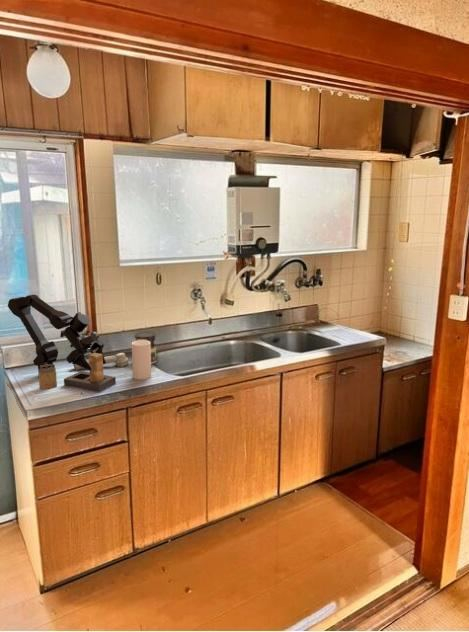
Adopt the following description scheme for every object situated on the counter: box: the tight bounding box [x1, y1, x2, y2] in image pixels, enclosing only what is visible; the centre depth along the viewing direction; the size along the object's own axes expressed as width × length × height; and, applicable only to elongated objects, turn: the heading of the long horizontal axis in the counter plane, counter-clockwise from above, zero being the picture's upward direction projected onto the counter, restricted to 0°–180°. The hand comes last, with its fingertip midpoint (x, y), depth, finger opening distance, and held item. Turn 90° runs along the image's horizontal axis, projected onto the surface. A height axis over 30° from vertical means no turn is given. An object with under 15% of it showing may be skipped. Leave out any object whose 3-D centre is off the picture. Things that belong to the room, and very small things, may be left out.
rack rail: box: [63, 370, 117, 393], centre depth 200 cm, size 18×11×3 cm, turn 68°
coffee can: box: [133, 331, 157, 365], centre depth 230 cm, size 10×10×14 cm
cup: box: [131, 340, 152, 381], centre depth 209 cm, size 8×8×16 cm
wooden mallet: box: [73, 352, 129, 371], centre depth 222 cm, size 5×7×25 cm
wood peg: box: [88, 353, 105, 382], centre depth 197 cm, size 4×4×14 cm
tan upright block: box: [37, 364, 58, 390], centre depth 195 cm, size 7×4×10 cm, turn 120°
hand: (98, 366), depth 196 cm, fingers open, 9 cm apart
